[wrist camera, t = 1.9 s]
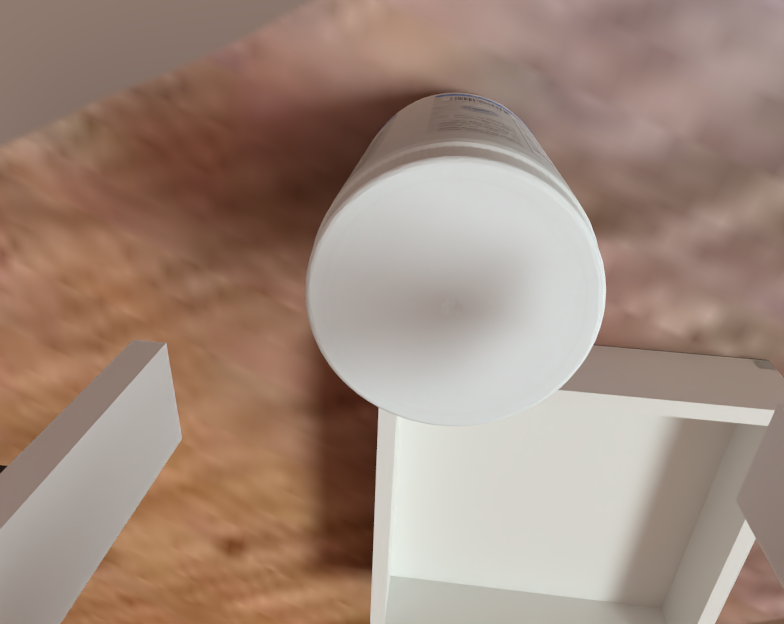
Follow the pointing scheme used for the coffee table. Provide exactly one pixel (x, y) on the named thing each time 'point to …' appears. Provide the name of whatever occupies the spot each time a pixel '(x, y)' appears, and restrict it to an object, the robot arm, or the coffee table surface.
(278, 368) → the coffee table surface
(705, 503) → the white bin
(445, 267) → the supplement tub
